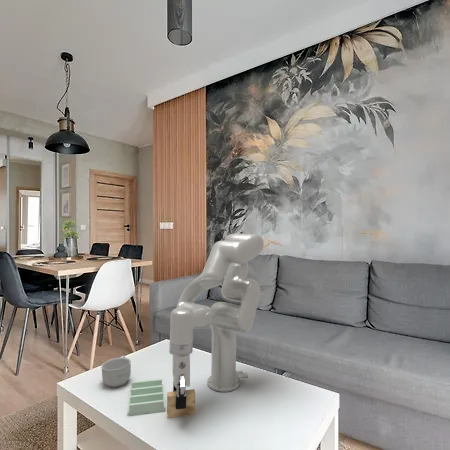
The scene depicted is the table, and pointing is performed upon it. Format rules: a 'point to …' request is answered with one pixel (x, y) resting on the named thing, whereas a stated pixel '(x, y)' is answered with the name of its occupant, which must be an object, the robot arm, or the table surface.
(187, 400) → the oak board
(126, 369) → the teacup
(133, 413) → the dish rack
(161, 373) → the table surface
